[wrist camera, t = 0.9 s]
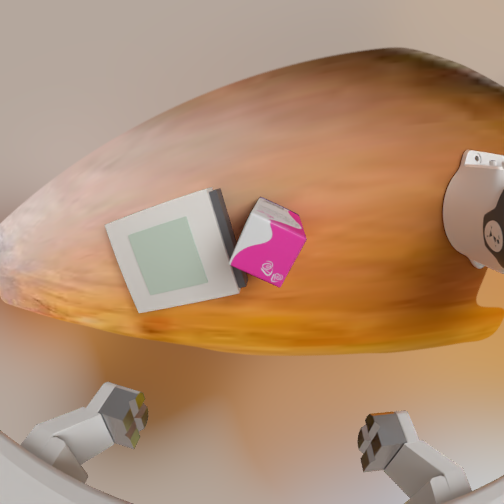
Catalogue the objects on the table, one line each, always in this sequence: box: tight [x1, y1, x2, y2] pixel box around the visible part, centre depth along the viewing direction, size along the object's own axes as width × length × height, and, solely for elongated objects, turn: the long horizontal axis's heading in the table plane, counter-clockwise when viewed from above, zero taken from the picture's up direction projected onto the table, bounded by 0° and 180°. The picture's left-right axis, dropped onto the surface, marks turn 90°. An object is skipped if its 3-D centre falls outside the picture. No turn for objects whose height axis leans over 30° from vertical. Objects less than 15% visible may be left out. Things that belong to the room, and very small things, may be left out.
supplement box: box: [229, 197, 307, 287], centre depth 32 cm, size 6×6×12 cm
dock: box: [105, 187, 248, 313], centre depth 38 cm, size 17×14×3 cm
